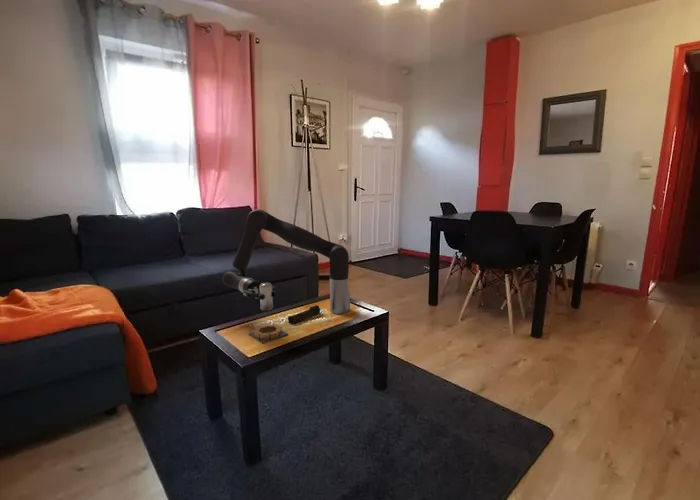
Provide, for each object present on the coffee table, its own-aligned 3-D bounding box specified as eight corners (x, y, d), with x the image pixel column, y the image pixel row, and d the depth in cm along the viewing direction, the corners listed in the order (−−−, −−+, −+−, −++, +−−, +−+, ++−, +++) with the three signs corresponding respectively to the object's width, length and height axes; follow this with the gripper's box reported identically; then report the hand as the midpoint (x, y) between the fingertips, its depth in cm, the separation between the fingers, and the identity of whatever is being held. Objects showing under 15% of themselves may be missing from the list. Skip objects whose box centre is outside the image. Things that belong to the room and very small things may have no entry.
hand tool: (292, 325, 165) (292, 315, 164) (287, 323, 168) (287, 313, 167) (323, 314, 179) (323, 305, 178) (318, 312, 181) (318, 303, 181)
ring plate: (273, 327, 163) (273, 321, 163) (288, 335, 154) (287, 329, 154) (248, 334, 155) (248, 329, 155) (262, 343, 146) (262, 338, 146)
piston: (269, 305, 156) (267, 281, 154) (274, 308, 153) (273, 284, 151) (258, 308, 153) (257, 283, 151) (264, 311, 150) (263, 286, 147)
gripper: (234, 281, 157) (252, 290, 144) (264, 276, 166) (284, 284, 154) (235, 298, 158) (253, 308, 146) (264, 291, 168) (284, 300, 155)
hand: (269, 295), depth 150 cm, fingers closed on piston, 5 cm apart
